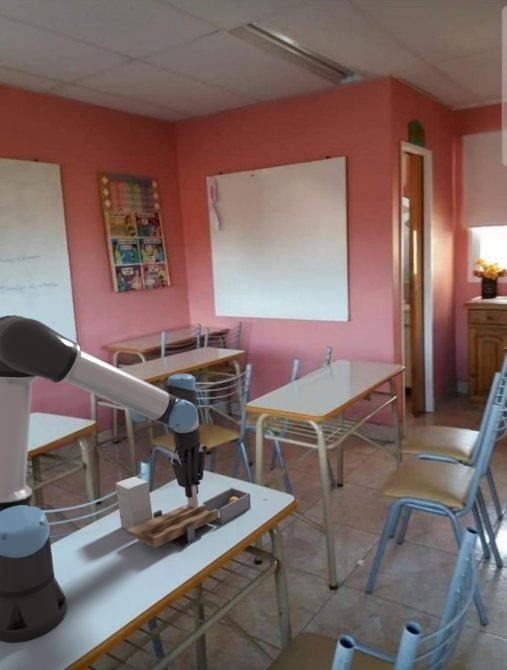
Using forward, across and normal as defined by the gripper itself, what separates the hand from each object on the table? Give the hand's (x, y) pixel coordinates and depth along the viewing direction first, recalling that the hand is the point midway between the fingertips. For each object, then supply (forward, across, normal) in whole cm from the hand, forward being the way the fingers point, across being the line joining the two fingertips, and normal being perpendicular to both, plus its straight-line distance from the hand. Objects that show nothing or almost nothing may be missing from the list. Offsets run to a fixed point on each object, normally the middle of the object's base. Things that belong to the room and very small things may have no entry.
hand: (193, 506), depth 160 cm
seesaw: (0, -10, -3) cm, 11 cm away
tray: (+3, +8, -6) cm, 10 cm away
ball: (+1, +10, -6) cm, 12 cm away
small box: (+3, -14, +8) cm, 16 cm away
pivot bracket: (+3, -10, -3) cm, 11 cm away
